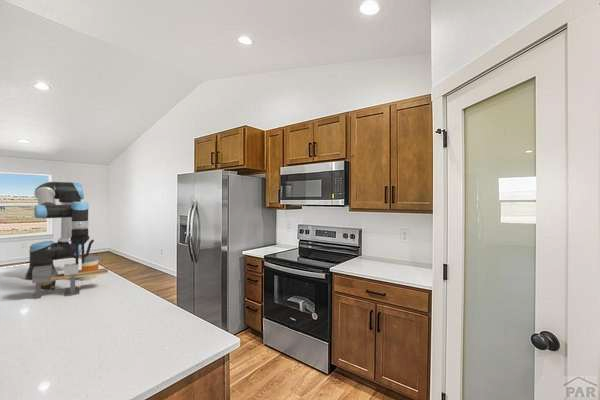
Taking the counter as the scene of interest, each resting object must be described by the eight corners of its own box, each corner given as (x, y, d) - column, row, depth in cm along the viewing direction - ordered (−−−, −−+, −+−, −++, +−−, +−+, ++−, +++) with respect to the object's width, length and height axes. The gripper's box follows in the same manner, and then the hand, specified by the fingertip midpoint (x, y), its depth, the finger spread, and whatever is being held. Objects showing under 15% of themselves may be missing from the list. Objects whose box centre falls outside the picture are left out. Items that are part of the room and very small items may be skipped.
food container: (63, 286, 161) (63, 270, 161) (53, 290, 155) (53, 272, 155) (45, 285, 162) (45, 269, 162) (34, 289, 156) (34, 272, 156)
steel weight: (64, 275, 151) (64, 264, 151) (78, 273, 155) (78, 263, 155) (64, 277, 147) (64, 266, 147) (78, 275, 151) (78, 264, 151)
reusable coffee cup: (78, 277, 181) (78, 254, 181) (101, 274, 186) (101, 253, 186) (72, 282, 169) (72, 258, 169) (96, 279, 175) (96, 257, 175)
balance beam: (34, 281, 145) (34, 267, 145) (107, 271, 165) (107, 259, 165) (32, 285, 138) (32, 270, 138) (108, 274, 159) (108, 261, 159)
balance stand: (37, 294, 147) (37, 276, 147) (79, 288, 158) (79, 271, 158) (34, 301, 138) (34, 282, 138) (79, 293, 149) (79, 276, 149)
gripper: (64, 229, 147) (64, 272, 147) (94, 228, 155) (94, 268, 155) (65, 228, 152) (65, 269, 152) (93, 227, 161) (93, 266, 161)
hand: (80, 269), depth 154 cm, fingers closed
